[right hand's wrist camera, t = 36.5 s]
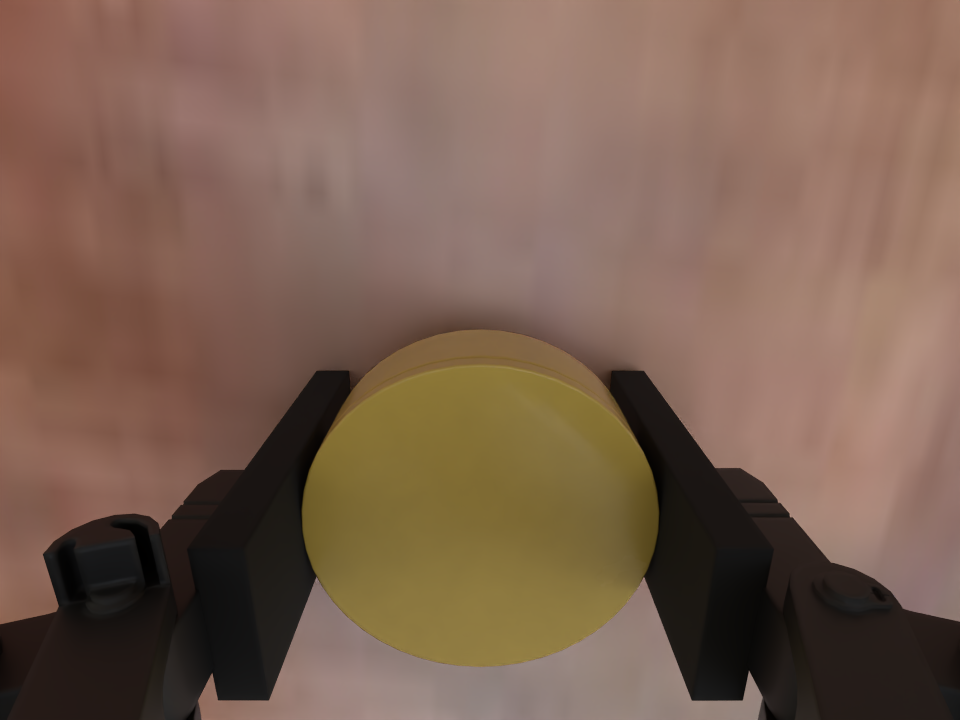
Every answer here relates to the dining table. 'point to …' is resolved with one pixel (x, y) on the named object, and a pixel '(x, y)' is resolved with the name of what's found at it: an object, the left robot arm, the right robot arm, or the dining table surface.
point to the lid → (480, 501)
